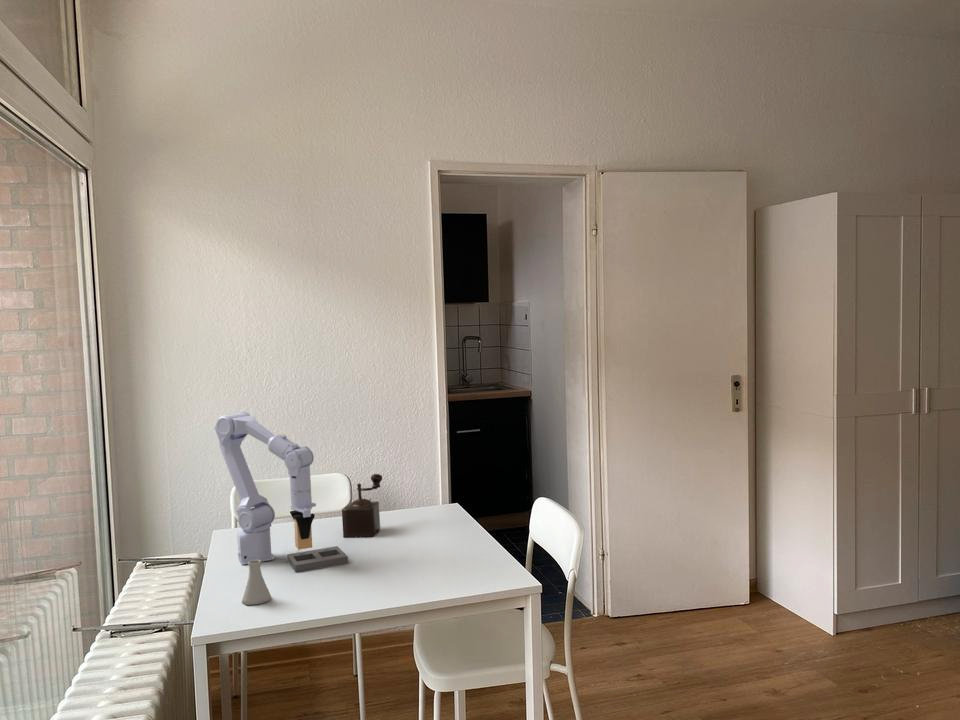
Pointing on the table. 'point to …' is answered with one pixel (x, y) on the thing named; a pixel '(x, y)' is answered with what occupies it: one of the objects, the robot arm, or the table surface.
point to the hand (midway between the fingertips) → (303, 536)
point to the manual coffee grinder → (362, 514)
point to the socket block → (317, 558)
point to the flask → (255, 586)
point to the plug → (302, 542)
